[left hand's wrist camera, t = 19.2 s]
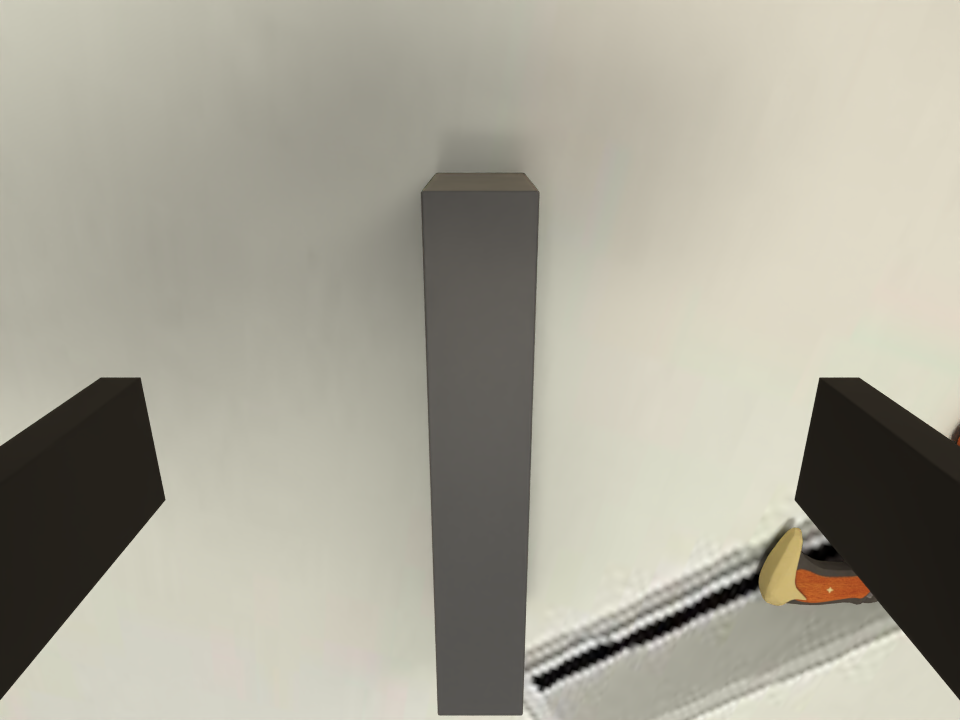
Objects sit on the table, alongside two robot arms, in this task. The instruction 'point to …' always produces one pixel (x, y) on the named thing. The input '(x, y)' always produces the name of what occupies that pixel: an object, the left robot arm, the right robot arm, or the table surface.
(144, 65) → the table surface
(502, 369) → the bar
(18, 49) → the table surface
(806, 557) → the toy gun
